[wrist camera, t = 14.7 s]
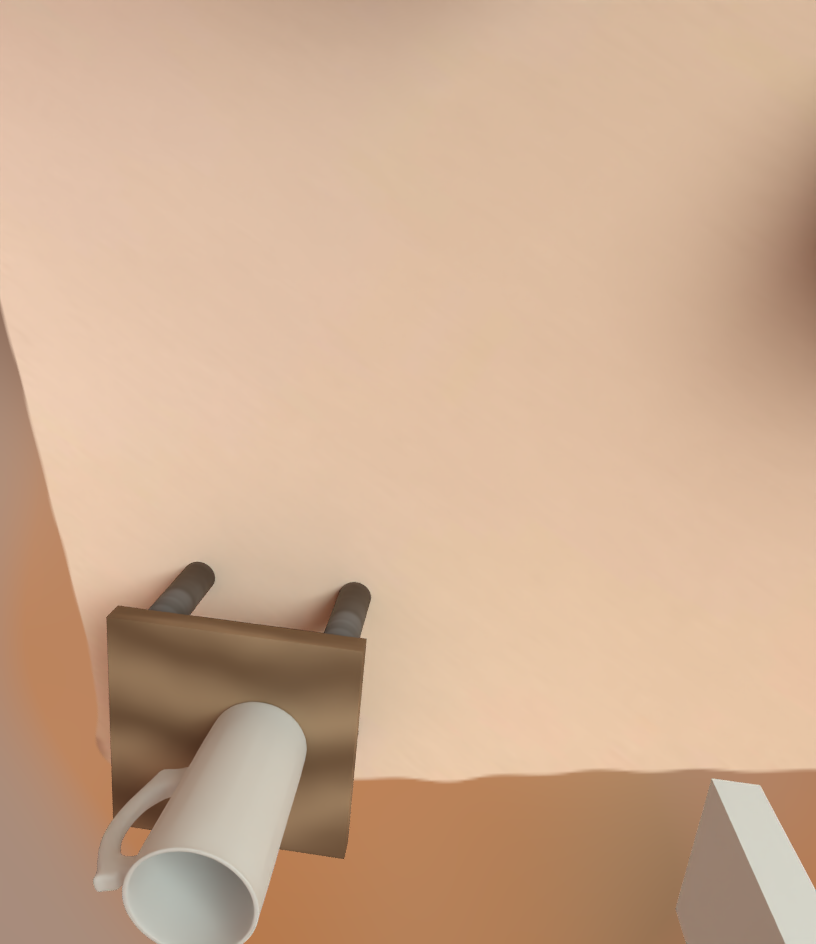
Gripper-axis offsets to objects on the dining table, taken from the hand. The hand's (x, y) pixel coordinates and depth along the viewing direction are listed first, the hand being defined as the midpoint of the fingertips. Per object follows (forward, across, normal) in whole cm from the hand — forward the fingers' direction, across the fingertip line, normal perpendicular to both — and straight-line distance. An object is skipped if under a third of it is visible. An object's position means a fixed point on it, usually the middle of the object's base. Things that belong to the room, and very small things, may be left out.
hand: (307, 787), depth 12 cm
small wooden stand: (+39, -10, -23) cm, 46 cm away
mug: (+28, -10, -23) cm, 38 cm away
